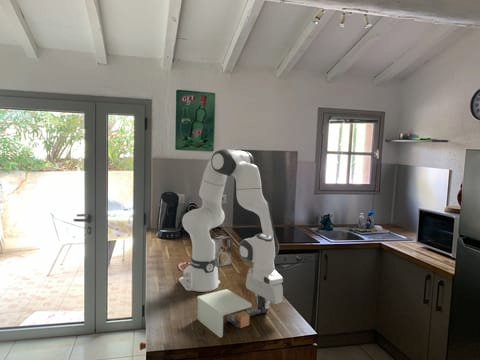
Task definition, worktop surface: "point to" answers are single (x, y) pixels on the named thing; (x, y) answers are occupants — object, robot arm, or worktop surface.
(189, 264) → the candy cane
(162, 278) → the worktop surface
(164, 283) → the worktop surface
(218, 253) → the coffee box
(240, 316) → the cube
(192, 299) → the worktop surface
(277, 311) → the worktop surface
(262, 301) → the hook tool
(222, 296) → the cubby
